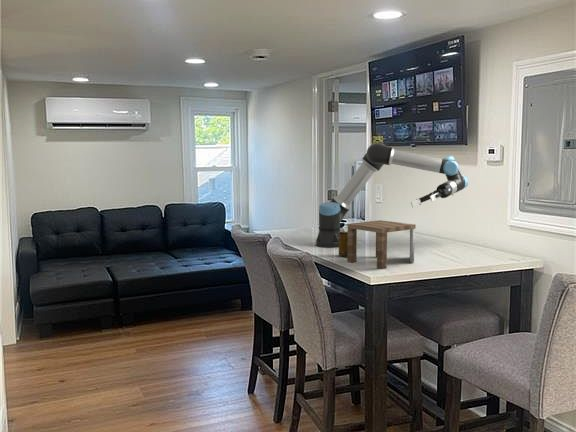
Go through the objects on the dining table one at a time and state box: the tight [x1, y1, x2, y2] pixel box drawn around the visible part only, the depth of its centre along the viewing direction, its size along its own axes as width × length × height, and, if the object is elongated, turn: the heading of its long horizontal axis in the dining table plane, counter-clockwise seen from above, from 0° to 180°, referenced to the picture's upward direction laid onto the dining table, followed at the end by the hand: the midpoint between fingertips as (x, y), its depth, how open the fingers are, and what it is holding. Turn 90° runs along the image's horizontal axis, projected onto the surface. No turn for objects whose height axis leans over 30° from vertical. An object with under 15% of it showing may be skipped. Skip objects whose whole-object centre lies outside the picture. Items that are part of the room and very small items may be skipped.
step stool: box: [346, 219, 417, 270], centre depth 257 cm, size 22×22×18 cm
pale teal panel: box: [409, 229, 416, 263], centre depth 261 cm, size 2×15×15 cm, turn 167°
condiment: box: [334, 231, 348, 258], centre depth 274 cm, size 7×8×12 cm
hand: (421, 201), depth 282 cm, fingers open, 13 cm apart
